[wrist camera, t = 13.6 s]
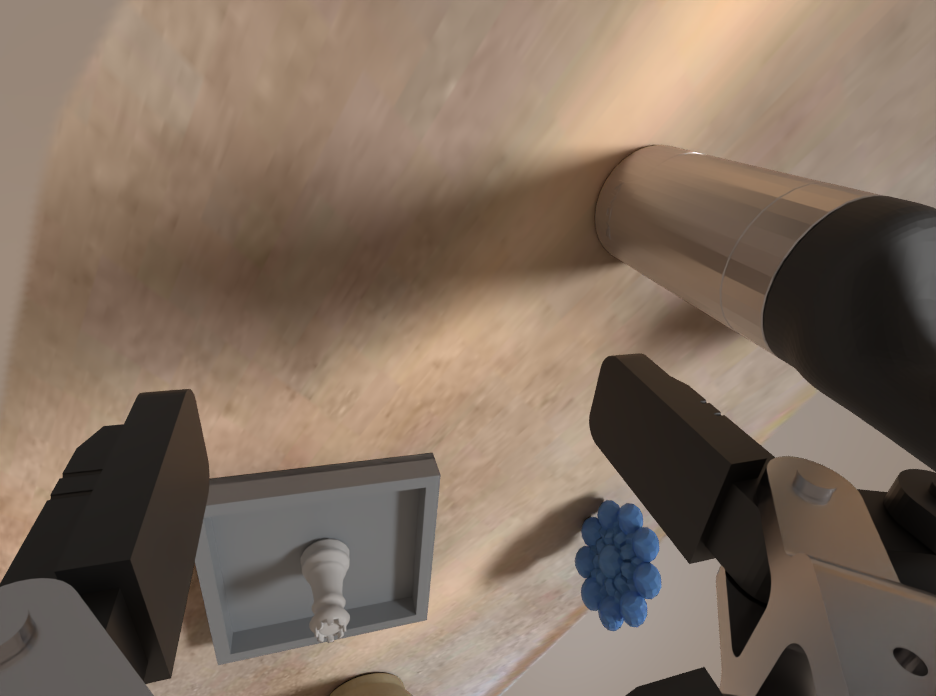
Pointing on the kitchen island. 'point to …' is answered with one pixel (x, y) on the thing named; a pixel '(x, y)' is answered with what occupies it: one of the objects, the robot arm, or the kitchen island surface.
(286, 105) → the kitchen island surface
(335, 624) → the rook chess piece
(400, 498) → the tray
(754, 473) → the robot arm
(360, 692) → the planter bowl
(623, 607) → the grapes
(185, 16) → the kitchen island surface
